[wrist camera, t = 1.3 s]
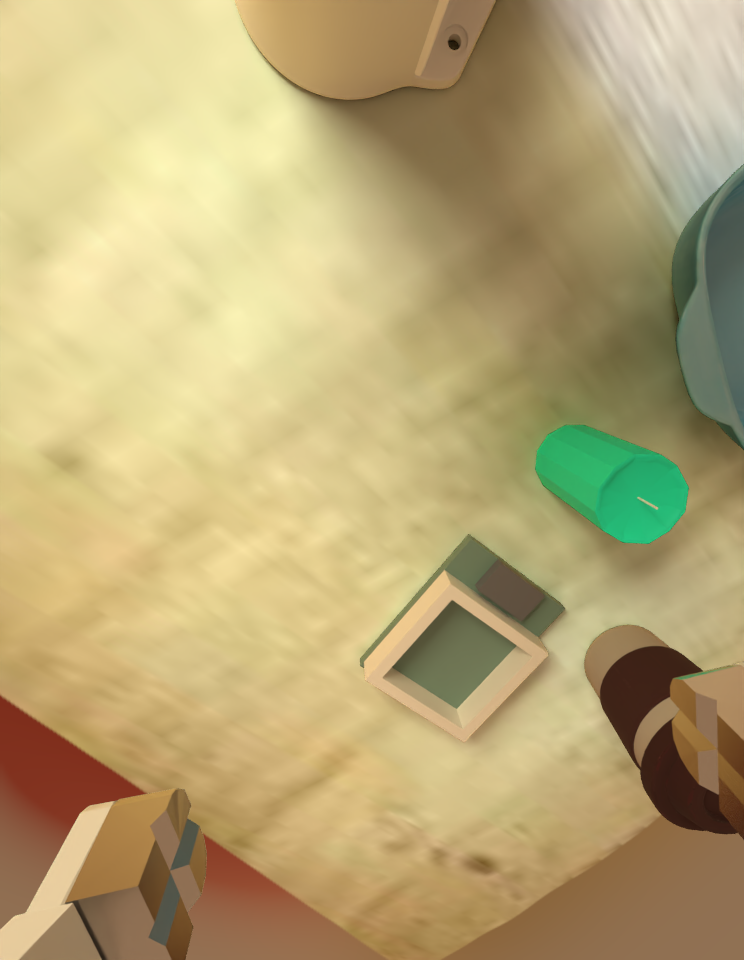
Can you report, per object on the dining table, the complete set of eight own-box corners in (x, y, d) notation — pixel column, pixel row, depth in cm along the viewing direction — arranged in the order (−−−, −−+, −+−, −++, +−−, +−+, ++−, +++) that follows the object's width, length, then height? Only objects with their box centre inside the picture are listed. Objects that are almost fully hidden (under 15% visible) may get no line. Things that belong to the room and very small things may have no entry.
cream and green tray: (468, 534, 44) (479, 551, 40) (560, 603, 46) (577, 624, 43) (359, 658, 46) (361, 684, 43) (451, 717, 49) (460, 746, 45)
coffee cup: (550, 643, 47) (643, 780, 33) (648, 590, 46) (788, 707, 32) (593, 718, 50) (697, 875, 36) (687, 669, 49) (832, 810, 35)
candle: (610, 484, 43) (709, 540, 32) (541, 502, 43) (614, 565, 32) (601, 415, 42) (702, 447, 30) (529, 434, 42) (601, 474, 30)
